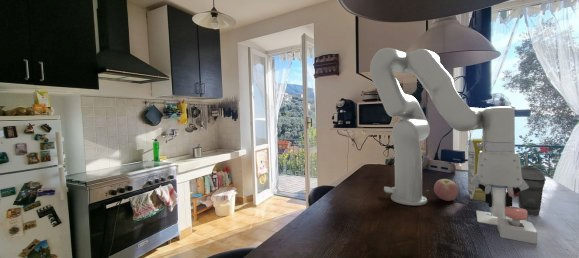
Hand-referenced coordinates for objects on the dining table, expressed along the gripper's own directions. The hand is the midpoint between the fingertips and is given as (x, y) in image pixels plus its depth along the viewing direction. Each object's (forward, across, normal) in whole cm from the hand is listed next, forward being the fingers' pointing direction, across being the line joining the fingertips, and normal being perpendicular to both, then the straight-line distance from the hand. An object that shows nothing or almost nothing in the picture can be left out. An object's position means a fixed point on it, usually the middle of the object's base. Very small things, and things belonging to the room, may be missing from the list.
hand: (498, 206), depth 77 cm
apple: (+4, -14, +13) cm, 20 cm away
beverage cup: (+4, +9, +11) cm, 15 cm away
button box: (+4, +3, -10) cm, 11 cm away
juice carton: (+4, -3, +22) cm, 23 cm away
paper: (+4, +1, 0) cm, 4 cm away
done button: (+2, +3, -10) cm, 11 cm away
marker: (+3, 0, 0) cm, 3 cm away
